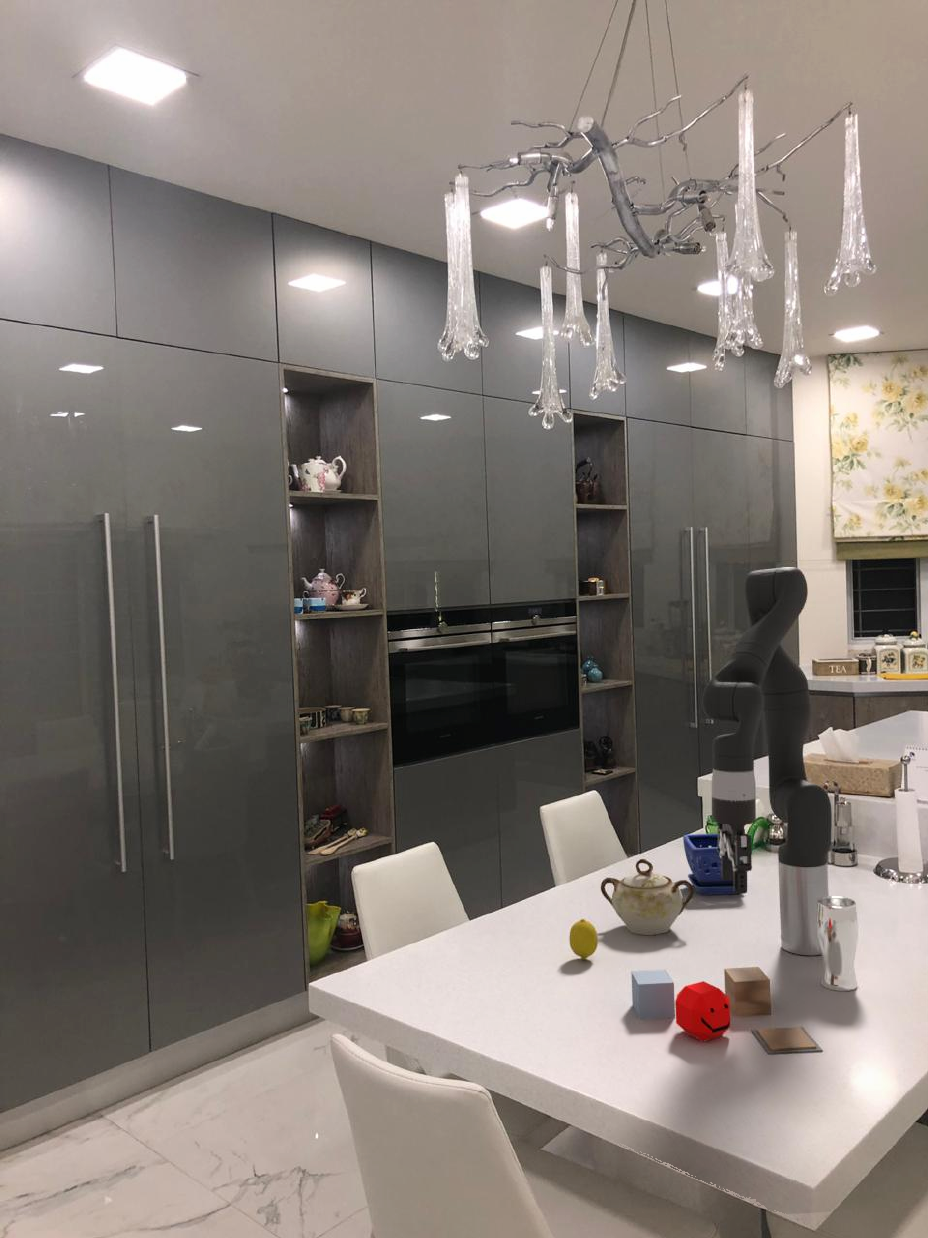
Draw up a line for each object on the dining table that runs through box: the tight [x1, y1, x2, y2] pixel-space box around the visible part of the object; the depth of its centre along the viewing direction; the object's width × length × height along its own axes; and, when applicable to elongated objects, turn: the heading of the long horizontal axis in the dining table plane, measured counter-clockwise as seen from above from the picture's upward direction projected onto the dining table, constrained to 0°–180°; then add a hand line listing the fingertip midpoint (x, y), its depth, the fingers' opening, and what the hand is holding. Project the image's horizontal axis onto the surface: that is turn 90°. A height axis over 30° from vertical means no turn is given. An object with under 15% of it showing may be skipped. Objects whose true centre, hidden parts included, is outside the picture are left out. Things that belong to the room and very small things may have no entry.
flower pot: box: [682, 833, 743, 896], centre depth 242 cm, size 13×13×12 cm
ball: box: [674, 980, 732, 1043], centre depth 163 cm, size 8×8×8 cm
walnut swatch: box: [750, 1026, 824, 1055], centre depth 160 cm, size 8×8×1 cm
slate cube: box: [630, 969, 676, 1020], centre depth 173 cm, size 6×6×6 cm
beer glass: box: [817, 895, 859, 992], centre depth 181 cm, size 7×7×15 cm
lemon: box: [568, 918, 599, 960], centre depth 199 cm, size 6×6×8 cm
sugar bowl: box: [600, 858, 695, 936], centre depth 215 cm, size 20×15×15 cm
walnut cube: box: [723, 966, 772, 1018], centre depth 172 cm, size 6×6×6 cm
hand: (734, 886), depth 179 cm, fingers open, 8 cm apart
